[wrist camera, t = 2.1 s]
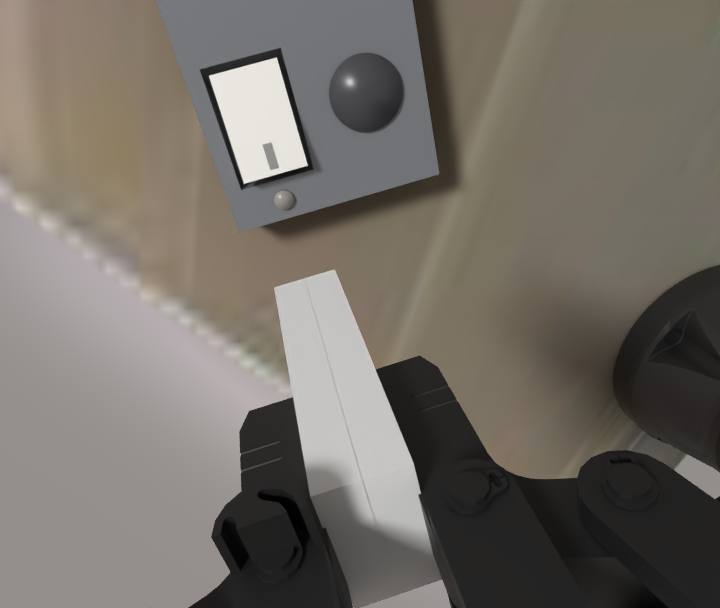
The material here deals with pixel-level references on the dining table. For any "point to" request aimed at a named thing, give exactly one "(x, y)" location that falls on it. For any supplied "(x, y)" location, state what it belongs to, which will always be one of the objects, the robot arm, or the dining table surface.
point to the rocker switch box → (313, 95)
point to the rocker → (259, 120)
